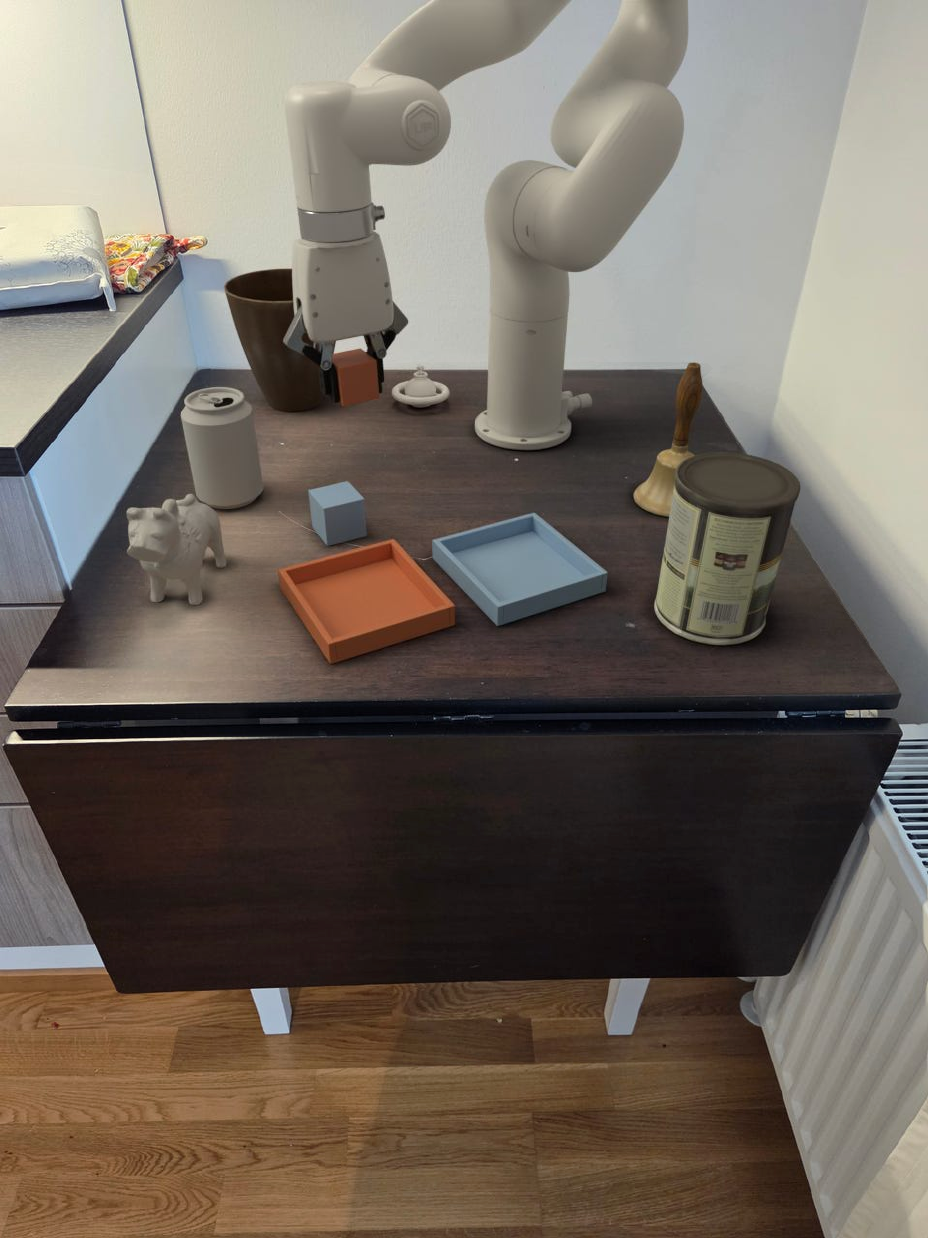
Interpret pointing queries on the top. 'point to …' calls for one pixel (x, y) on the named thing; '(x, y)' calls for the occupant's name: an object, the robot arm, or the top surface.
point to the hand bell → (661, 481)
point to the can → (222, 447)
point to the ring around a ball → (420, 390)
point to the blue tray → (518, 568)
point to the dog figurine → (175, 543)
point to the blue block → (337, 513)
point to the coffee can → (724, 546)
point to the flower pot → (273, 339)
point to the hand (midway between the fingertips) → (353, 392)
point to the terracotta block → (356, 377)
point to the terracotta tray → (365, 600)
